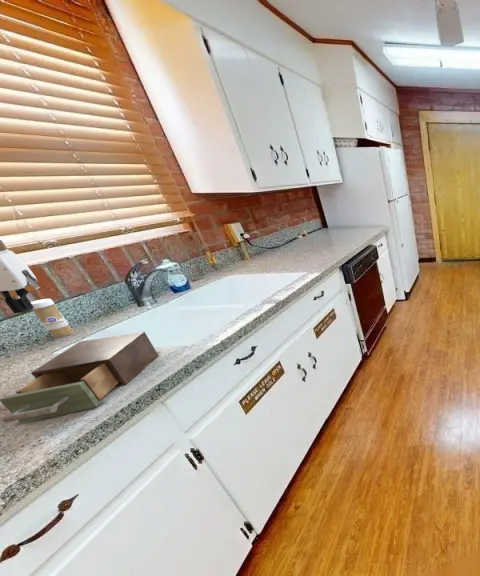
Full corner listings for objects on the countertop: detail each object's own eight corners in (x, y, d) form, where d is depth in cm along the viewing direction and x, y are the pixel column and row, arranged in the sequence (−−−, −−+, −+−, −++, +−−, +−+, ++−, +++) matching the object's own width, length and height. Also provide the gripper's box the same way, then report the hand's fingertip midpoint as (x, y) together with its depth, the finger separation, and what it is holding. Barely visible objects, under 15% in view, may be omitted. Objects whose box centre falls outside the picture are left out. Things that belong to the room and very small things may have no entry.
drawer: (80, 421, 69) (61, 398, 66) (-2, 440, 64) (-27, 416, 61) (133, 373, 84) (119, 352, 81) (70, 385, 80) (53, 364, 77)
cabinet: (127, 385, 81) (108, 359, 77) (53, 400, 76) (30, 372, 72) (159, 355, 93) (144, 331, 89) (97, 366, 88) (79, 341, 84)
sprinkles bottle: (56, 339, 101) (29, 304, 95) (51, 337, 102) (24, 303, 97) (78, 332, 104) (53, 299, 99) (72, 330, 106) (48, 297, 101)
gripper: (-88, 255, 71) (-33, 321, 78) (6, 250, 76) (50, 312, 83) (-49, 247, 77) (-1, 309, 84) (35, 243, 82) (73, 301, 90)
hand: (24, 310), depth 84 cm, fingers closed
